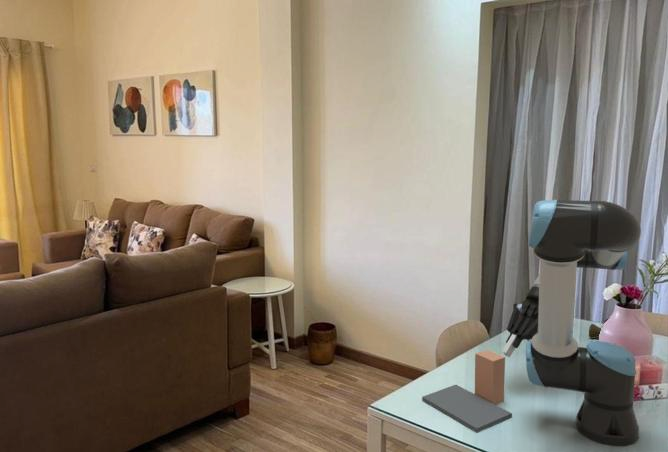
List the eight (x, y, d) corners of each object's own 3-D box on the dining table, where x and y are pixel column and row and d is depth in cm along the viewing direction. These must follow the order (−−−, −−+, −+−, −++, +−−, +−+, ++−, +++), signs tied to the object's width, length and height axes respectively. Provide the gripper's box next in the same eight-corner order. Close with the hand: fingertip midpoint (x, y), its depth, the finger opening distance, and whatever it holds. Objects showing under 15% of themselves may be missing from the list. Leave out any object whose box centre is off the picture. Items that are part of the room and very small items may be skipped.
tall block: (503, 401, 164) (505, 357, 161) (492, 406, 161) (493, 361, 159) (486, 392, 170) (486, 349, 167) (474, 396, 167) (475, 353, 165)
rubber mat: (511, 417, 155) (511, 413, 154) (476, 432, 147) (476, 428, 147) (455, 388, 173) (455, 384, 173) (422, 400, 166) (422, 396, 165)
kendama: (624, 333, 216) (613, 347, 201) (598, 329, 222) (585, 342, 207) (625, 318, 215) (613, 332, 200) (598, 314, 221) (585, 327, 206)
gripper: (566, 303, 169) (528, 367, 164) (531, 294, 180) (495, 353, 174) (556, 290, 166) (517, 355, 160) (520, 281, 177) (483, 341, 171)
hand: (505, 354), depth 167 cm, fingers closed
